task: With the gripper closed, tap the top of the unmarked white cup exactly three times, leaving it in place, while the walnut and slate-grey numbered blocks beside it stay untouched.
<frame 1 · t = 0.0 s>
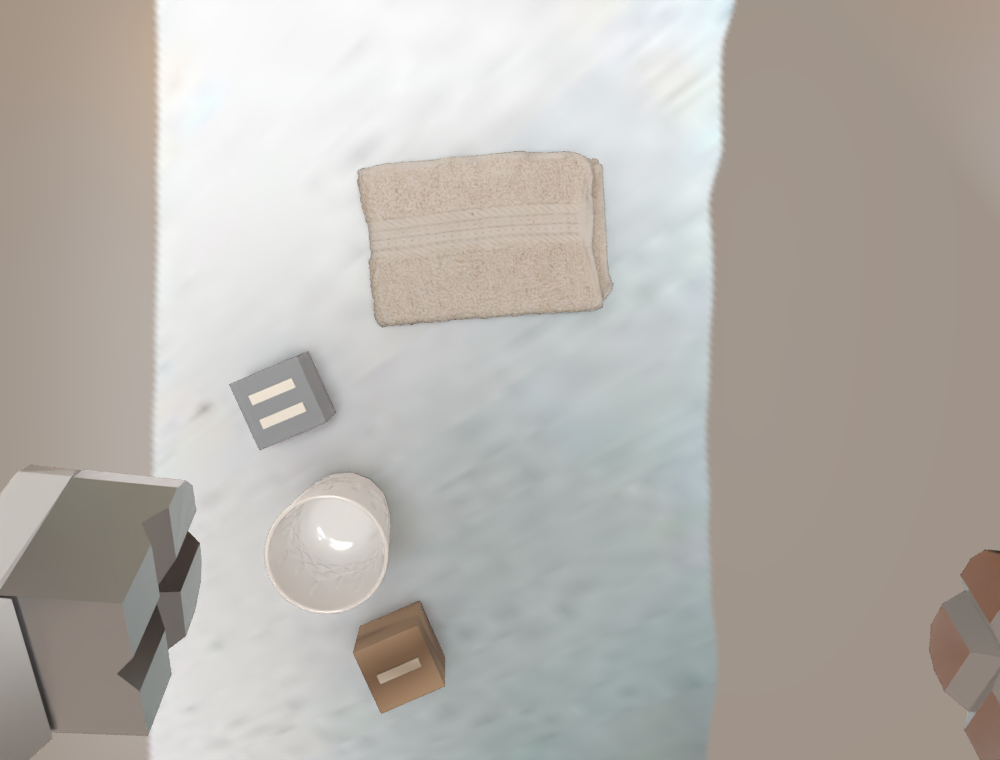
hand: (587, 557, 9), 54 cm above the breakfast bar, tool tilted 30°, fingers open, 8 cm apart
washcloth: (486, 241, 63), on the breakfast bar
walnut block: (402, 641, 65), on the breakfast bar
slate-grey block: (291, 395, 62), on the breakfast bar
white cup: (345, 514, 64), on the breakfast bar
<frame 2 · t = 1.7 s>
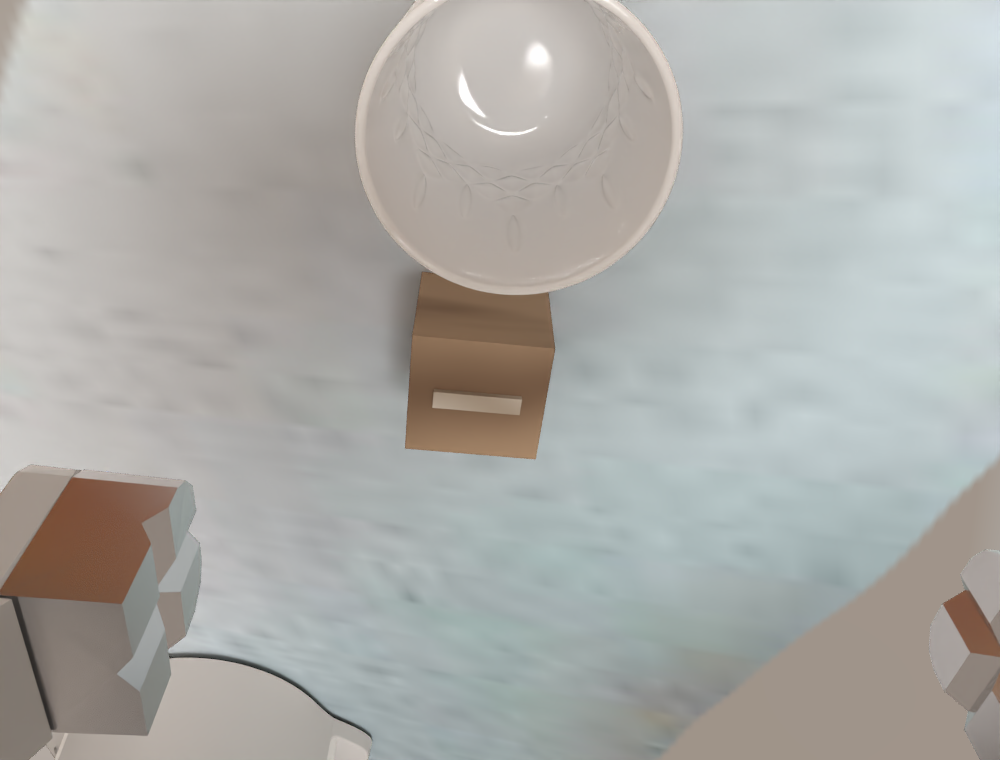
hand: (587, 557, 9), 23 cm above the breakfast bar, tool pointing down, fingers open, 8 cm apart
walnut block: (478, 331, 34), on the breakfast bar
white cup: (510, 53, 29), on the breakfast bar
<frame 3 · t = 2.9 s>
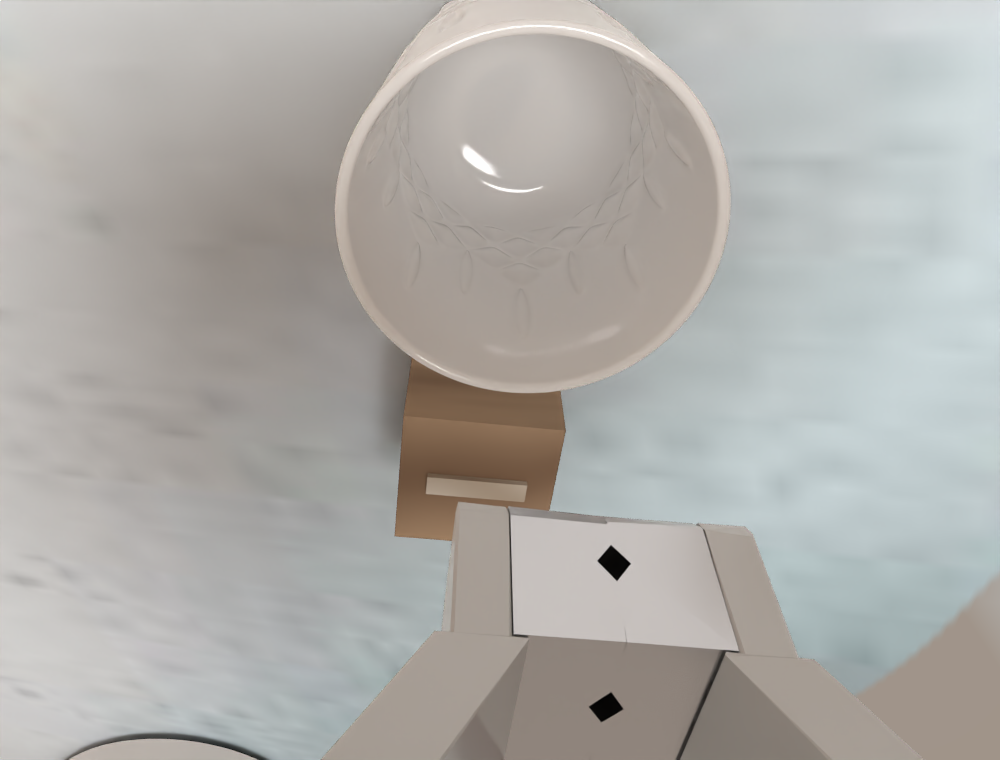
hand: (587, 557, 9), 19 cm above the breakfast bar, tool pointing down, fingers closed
walnut block: (477, 398, 31), on the breakfast bar
white cup: (516, 97, 25), on the breakfast bar
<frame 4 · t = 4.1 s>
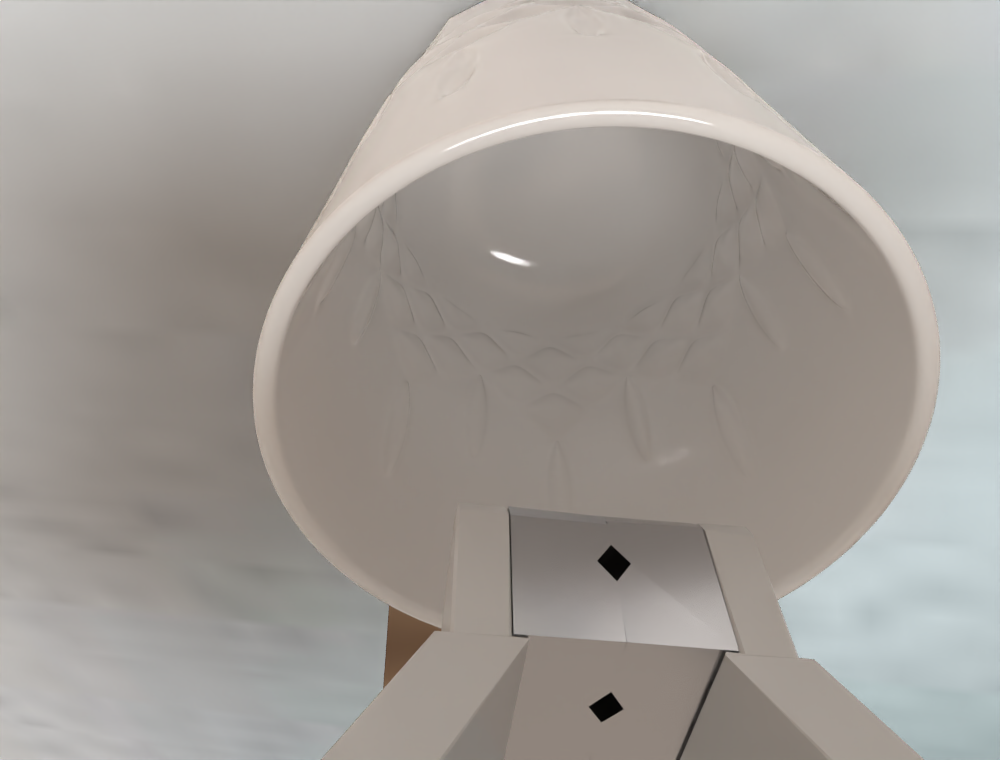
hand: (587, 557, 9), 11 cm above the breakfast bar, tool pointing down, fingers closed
walnut block: (491, 513, 24), on the breakfast bar
white cup: (549, 145, 18), on the breakfast bar
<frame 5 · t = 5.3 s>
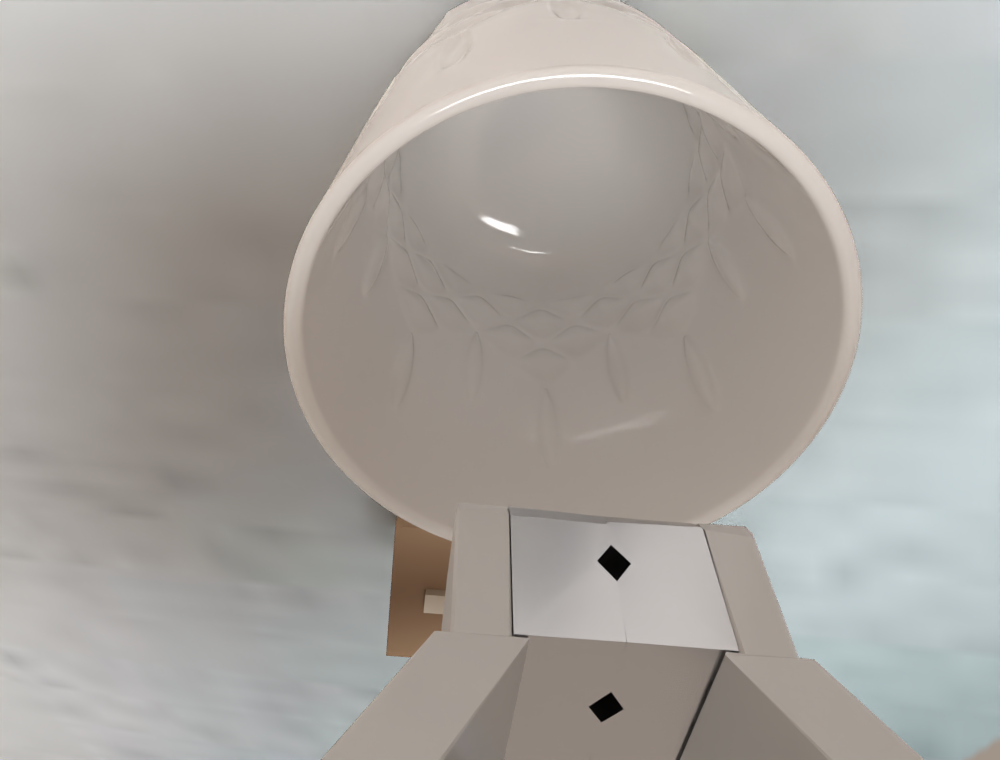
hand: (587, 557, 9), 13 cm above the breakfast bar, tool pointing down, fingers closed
walnut block: (487, 476, 26), on the breakfast bar
white cup: (539, 127, 20), on the breakfast bar
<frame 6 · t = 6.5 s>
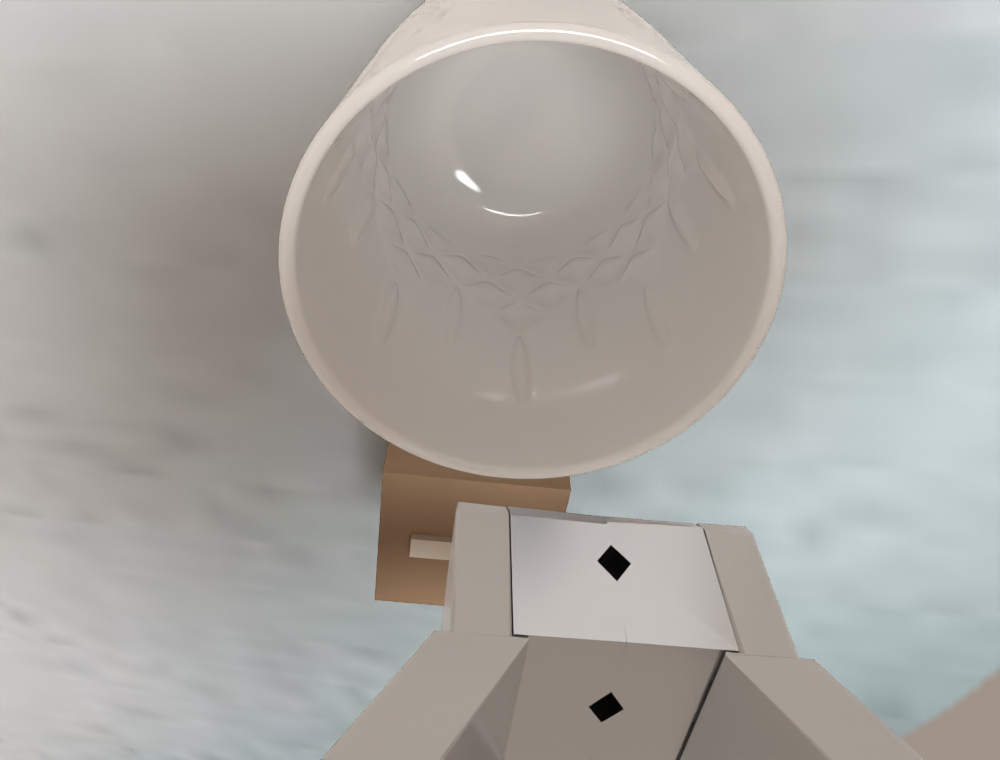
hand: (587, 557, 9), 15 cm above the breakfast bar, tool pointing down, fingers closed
walnut block: (472, 437, 28), on the breakfast bar
white cup: (518, 101, 21), on the breakfast bar
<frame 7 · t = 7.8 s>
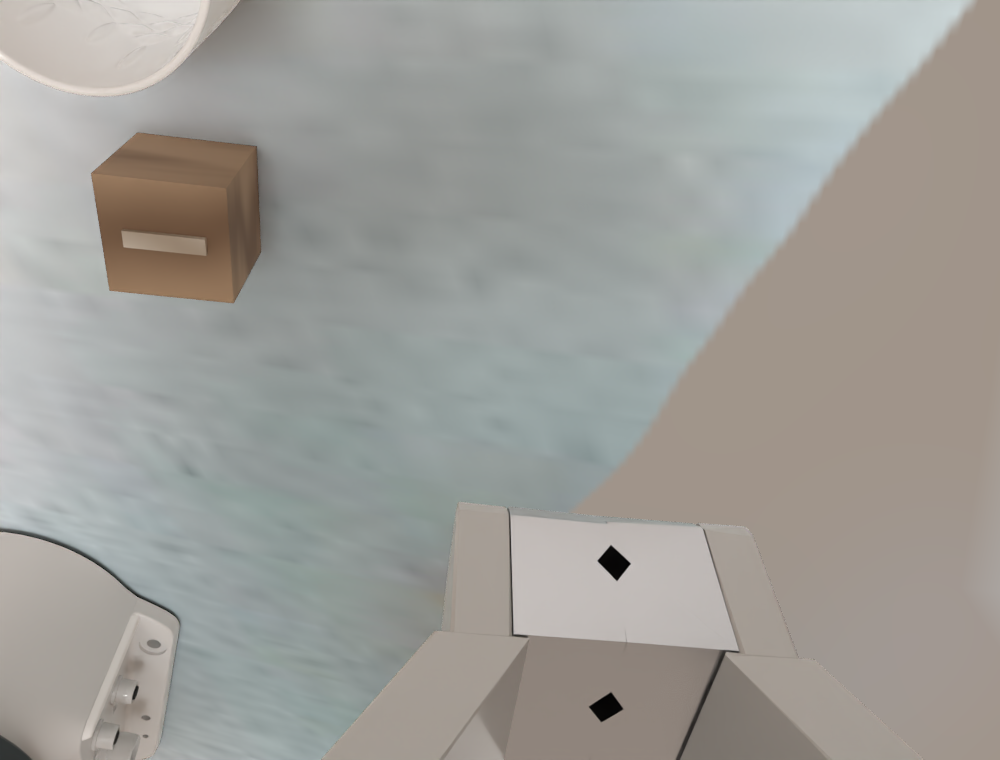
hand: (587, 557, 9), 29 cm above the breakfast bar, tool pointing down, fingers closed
walnut block: (202, 194, 37), on the breakfast bar
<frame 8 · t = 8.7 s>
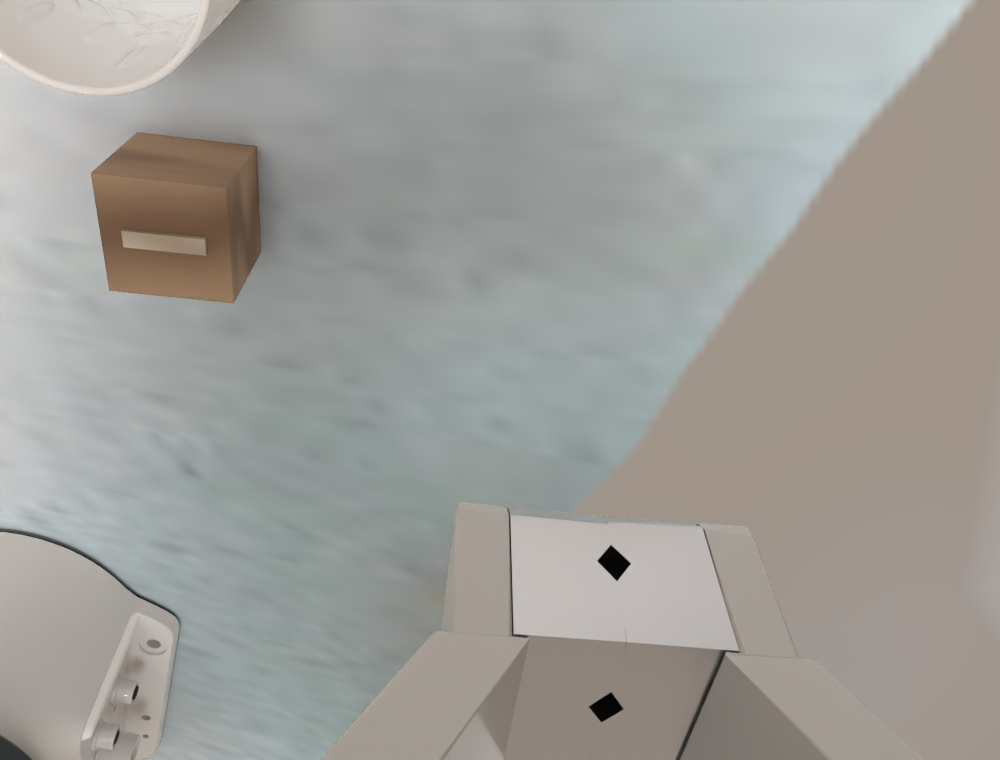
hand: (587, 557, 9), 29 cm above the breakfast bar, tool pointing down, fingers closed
walnut block: (202, 194, 37), on the breakfast bar
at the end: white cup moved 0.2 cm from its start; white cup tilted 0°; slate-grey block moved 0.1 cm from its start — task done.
